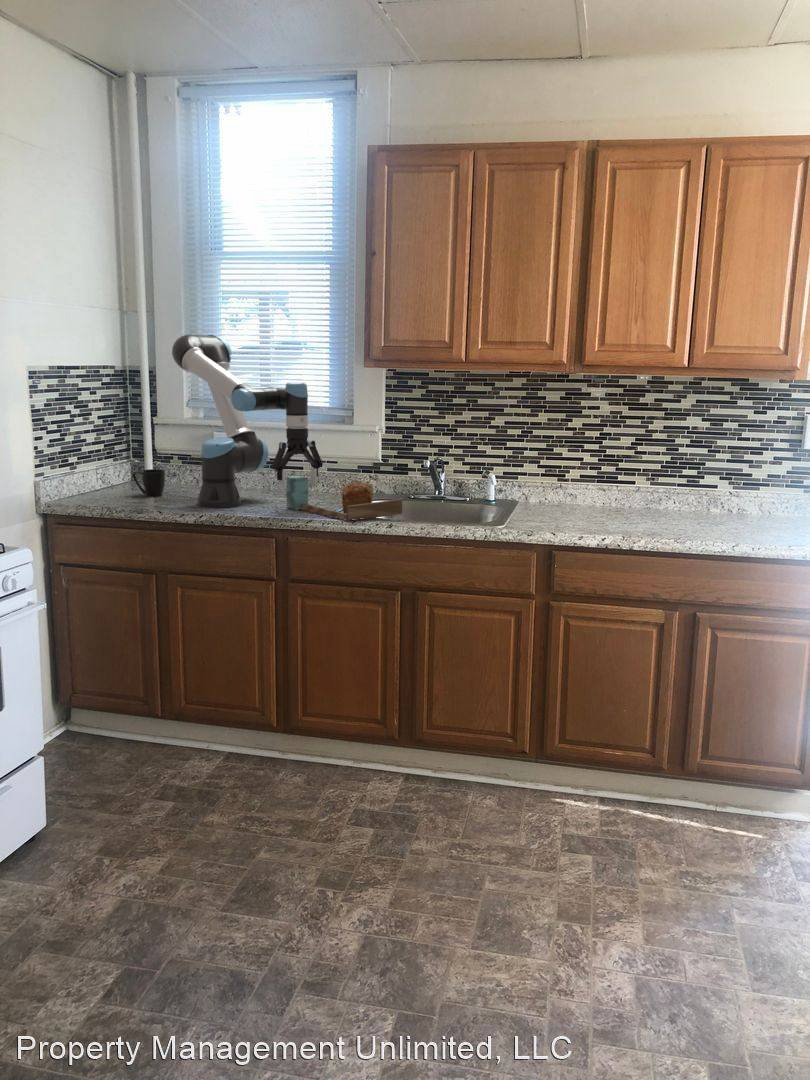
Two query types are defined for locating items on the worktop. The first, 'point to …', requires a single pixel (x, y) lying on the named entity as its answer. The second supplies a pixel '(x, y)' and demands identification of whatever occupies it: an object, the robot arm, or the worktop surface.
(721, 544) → the worktop surface
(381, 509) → the sled
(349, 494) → the bread
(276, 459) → the robot arm
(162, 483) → the mug
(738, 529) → the worktop surface
